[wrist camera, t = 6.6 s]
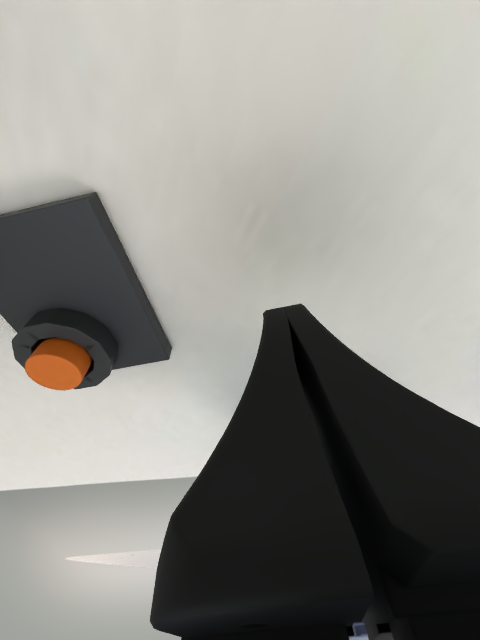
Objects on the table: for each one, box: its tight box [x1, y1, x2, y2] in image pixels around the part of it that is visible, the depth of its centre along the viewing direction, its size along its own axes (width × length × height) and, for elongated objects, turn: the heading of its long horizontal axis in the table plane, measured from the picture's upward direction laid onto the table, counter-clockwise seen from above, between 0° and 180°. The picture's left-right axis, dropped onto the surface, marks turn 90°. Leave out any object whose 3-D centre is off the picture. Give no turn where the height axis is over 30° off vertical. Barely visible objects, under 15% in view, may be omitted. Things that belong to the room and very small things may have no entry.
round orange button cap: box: [25, 338, 91, 390], centre depth 19 cm, size 4×4×2 cm
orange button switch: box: [0, 192, 172, 389], centre depth 19 cm, size 13×10×3 cm
